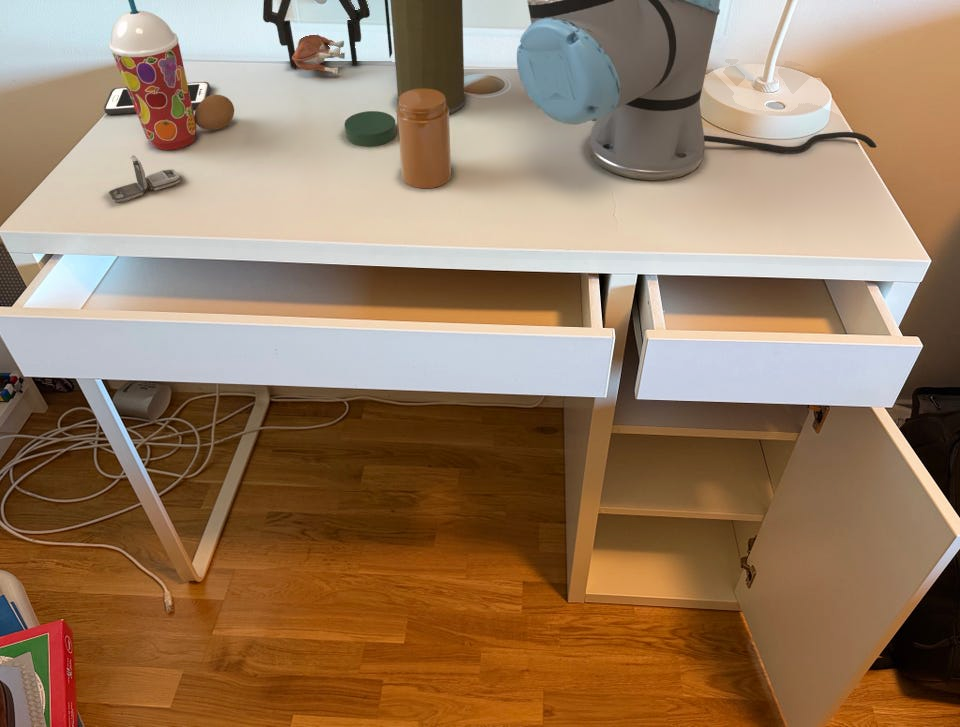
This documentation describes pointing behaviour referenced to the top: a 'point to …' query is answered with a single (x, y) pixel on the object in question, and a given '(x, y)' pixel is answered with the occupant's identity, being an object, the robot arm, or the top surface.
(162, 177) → the strap clip
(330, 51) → the bull figurine
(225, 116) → the egg
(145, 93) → the smoothie
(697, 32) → the robot arm
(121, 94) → the cell phone
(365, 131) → the lid
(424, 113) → the jar
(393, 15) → the canister
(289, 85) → the top surface
